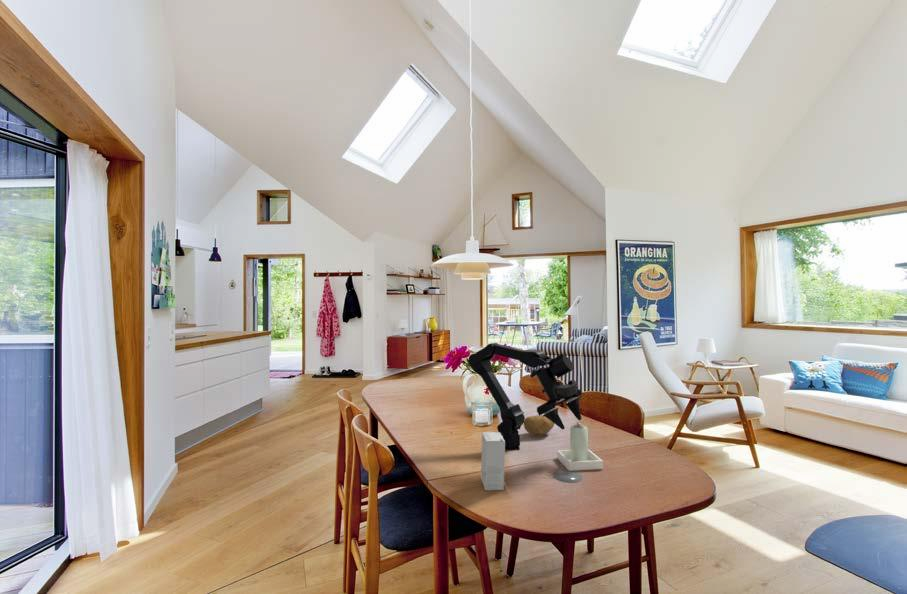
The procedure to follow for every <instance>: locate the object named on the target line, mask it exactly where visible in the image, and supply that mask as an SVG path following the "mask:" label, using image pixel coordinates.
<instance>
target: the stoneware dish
mask: <svg viewBox="0 0 907 594" xmlns="http://www.w3.org/2000/svg"><path fill="white" fill-rule="evenodd" d="M556 458H557V459H558V461H559V462H560V464H562V465H563V466H564V467H565V468H566V469H567V470H568V471H569V472H574V471H589V470H590V471H592V470H593V471H594V470H604V460H603V459H602V458H600V457H599V456H598V455H596V454H595V453H594V452H593V451H591V450H590V449H588V461H571V462H570V449H560V450H556Z"/></svg>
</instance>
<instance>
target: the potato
mask: <svg viewBox="0 0 907 594" xmlns="http://www.w3.org/2000/svg"><path fill="white" fill-rule="evenodd" d="M542 415H543V414H542ZM542 415H540V416H539V414H536V415H530V416H526V417H525V420H524V423H523V427H524V430H525V431H526V432H527V433H528V434H531V435H533V436H541V437H542V436H545V435H546V434H548V433H549V432H550V431H551V430H552V429H553V428H554V426H555V423H553V422H552V421H551V420H549V419H548V418H546V417H545V416H544V417H543V416H542Z"/></svg>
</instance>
